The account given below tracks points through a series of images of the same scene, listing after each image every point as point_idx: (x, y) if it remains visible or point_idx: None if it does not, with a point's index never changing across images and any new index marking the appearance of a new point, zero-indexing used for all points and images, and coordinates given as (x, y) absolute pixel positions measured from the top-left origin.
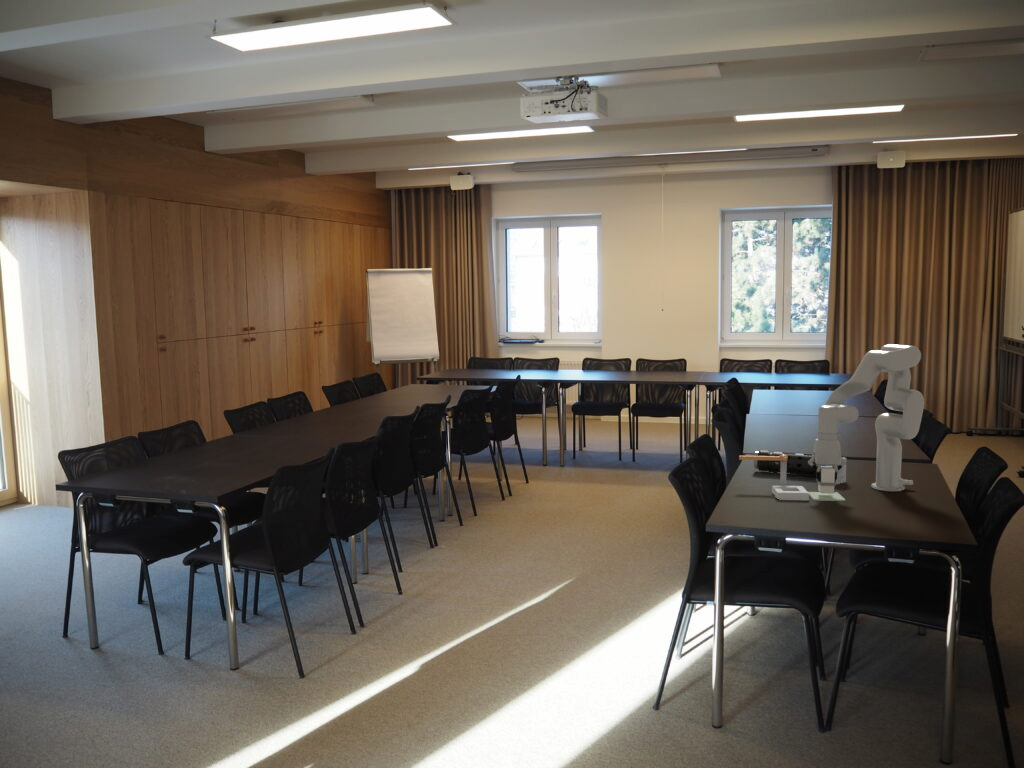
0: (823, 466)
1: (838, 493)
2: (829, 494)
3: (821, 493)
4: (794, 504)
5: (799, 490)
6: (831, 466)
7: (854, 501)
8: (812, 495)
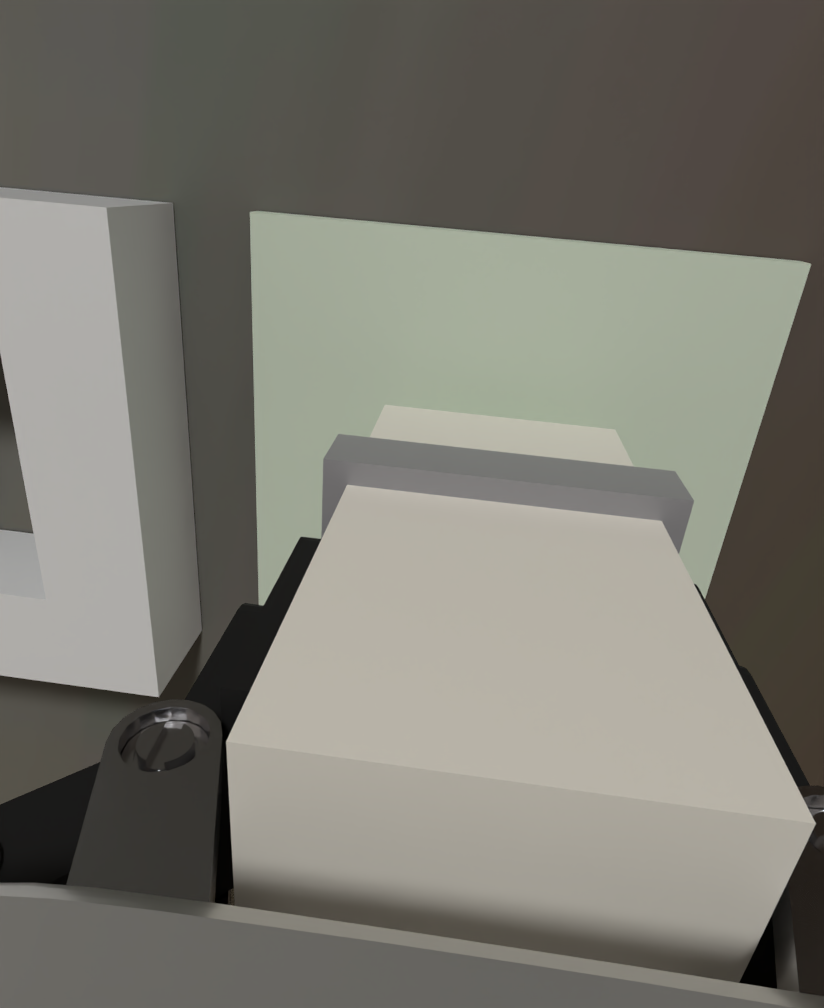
0: (411, 820)
1: (776, 355)
2: (577, 421)
3: (468, 346)
4: (26, 757)
5: (37, 542)
6: (783, 851)
7: (781, 709)
8: (284, 470)
